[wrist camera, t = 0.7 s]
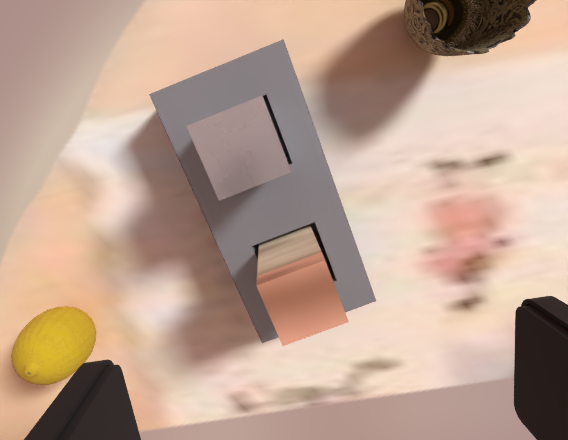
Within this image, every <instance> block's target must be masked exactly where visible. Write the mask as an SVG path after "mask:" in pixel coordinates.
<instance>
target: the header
mask: <svg viewBox="0 0 568 440" xmlns="http://www.w3.org/2000/svg"><path fill="white" fill-rule="evenodd" d="M149 95H150V97H151V99H152V101H153V104H154V106H155V108H156V110H157V113H158V115H159V117H160V119H161V121H162V124H163V126H164V128H165V130H166V132H167V135H168V137H169V139H170V141H171V143H172V146H173V148H174V150H175V152H176V154H177V157H178V159H179V161H180V163H181V165H182V168H183V170H184V172H185V174H186V176H187V179H188V181H189V183H190V185H191V187H192V190H193V192H194V194H195V196H196V198H197V201H198V203H199V205H200V207H201V210H202V212H203V214H204V216H205V218H206V221H207V223H208V225H209V227H210V229H211V232H212V234H213V236H214V238H215V240H216V243H217V245H218V247H219V249H220V251H221V254H222V256H223V258H224V260H225V262H226V265H227V267H228V269H229V271H230V273H231V276H232V278H233V280H234V282H235V284H236V287H237V289H238V291H239V293H240V295H241V298H242V300H243V302H244V304H245V307H246V309H247V311H248V313H249V315H250V318H251V320H252V322H253V324H254V326H255V329H256V331H257V333H258V335H259V337H260V340H261V342H262V343H264V342H266V341H269V340H272V339H275V338H277V337H279V336H278V334H277V332H276V329H275V327H274V325H273V323H272V320H271V318H270V316H269V313H268V311H267V309H266V307H265V304H264V302H263V300H262V298H261V295H260V293H259V291H258V288H257V286H256V284H257V267H258V250H259V243H262V242H264V241H267V240H269V239H272V238H275V237H277V236H280V235H282V234H285V233H288V232H290V231H293V230H295V229H298V228H301V227H303V226H306V225H308V224H310V226H311V228H312V231H313V233H314V235H315V238H316V240H317V242H318V245H319V247H320V249H321V252H322V254H323V256H324V259H325V261H326V264H327V266H328V269H329V272H330V274H331V277H332V279H333V282H334V285H335V287H336V290H337V293H338V295H339V298H340V300H341V303H342V306H343V308H344V311H345V312H348V311H350V310H353V309H356V308H358V307H361V306H364V305H366V304H369V303H372V302H375V301H376V299H375V296H374V293H373V291H372V288H371V285H370V282H369V279H368V276H367V274H366V271H365V268H364V265H363V262H362V260H361V257H360V254H359V251H358V248H357V245H356V243H355V240H354V237H353V234H352V231H351V229H350V226H349V223H348V220H347V217H346V214H345V212H344V209H343V206H342V203H341V200H340V198H339V195H338V192H337V189H336V186H335V183H334V181H333V178H332V175H331V172H330V169H329V167H328V164H327V161H326V158H325V155H324V153H323V150H322V147H321V144H320V141H319V138H318V136H317V133H316V130H315V127H314V124H313V122H312V119H311V116H310V113H309V110H308V107H307V105H306V102H305V99H304V96H303V93H302V91H301V88H300V85H299V82H298V79H297V76H296V74H295V71H294V68H293V65H292V62H291V60H290V57H289V54H288V51H287V48H286V45H285V43H284V40H281V41H278V42H276V43H274V44H271V45H269V46H266V47H264V48H261V49H259V50H257V51H254V52H252V53H249V54H247V55H244V56H242V57H239V58H237V59H235V60H232V61H230V62H227V63H225V64H222V65H220V66H217V67H215V68H213V69H210V70H208V71H205V72H203V73H200V74H198V75H195V76H193V77H191V78H188V79H186V80H183V81H181V82H178V83H176V84H173V85H171V86H169V87H166V88H164V89H161V90H159V91H156V92H154V93H151V94H149ZM260 96H263V98H264V101H265V104H266V106H267V109H268V112H269V114H270V117H271V119H272V122H273V125H274V127H275V130H276V132H277V135H278V138H279V140H280V143H281V146H282V148H283V151H284V153H285V156H286V159H287V161H288V164H289V167H290V169H291V173H289V174H286V175H284V176H281V177H278V178H276V179H273V180H271V181H268V182H266V183H263V184H261V185H258V186H255V187H253V188H250V189H248V190H245V191H243V192H240V193H238V194H235V195H232V196H230V197H227V198H225V199H222V200H220V201H219V200H218V197H217V195H216V193H215V190H214V188H213V186H212V184H211V181H210V179H209V177H208V174H207V172H206V170H205V168H204V165H203V163H202V161H201V159H200V156H199V154H198V152H197V149H196V147H195V145H194V143H193V140H192V138H191V136H190V133H189V131H188V129H187V127H186V126H188V125H190V124H193V123H195V122H197V121H200V120H202V119H205V118H207V117H210V116H212V115H215V114H217V113H220V112H222V111H225V110H227V109H230V108H232V107H235V106H237V105H240V104H242V103H245V102H247V101H250V100H252V99H255V98H257V97H260Z"/></svg>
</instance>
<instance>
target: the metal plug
mask: <svg viewBox="0 0 568 440" xmlns="http://www.w3.org/2000/svg"><path fill="white" fill-rule="evenodd" d="M186 127H187V129H188V131H189V133H190V136H191V138H192V140H193V143H194V145H195V147H196V149H197V152H198V154H199V156H200V159H201V161H202V163H203V165H204V168H205V170H206V172H207V174H208V177H209V179H210V181H211V184H212V186H213V188H214V190H215V193H216V195H217V197H218V200H219V201H220V200H222V199H225V198H227V197H230V196H232V195H235V194H238V193H240V192H243V191H245V190H248V189H250V188H253V187H255V186H258V185H261V184H263V183H266V182H268V181H271V180H273V179H276V178H278V177H281V176H284V175H286V174H289V173H291V169H290V167H289V164H288V161H287V159H286V156H285V153H284V151H283V148H282V146H281V143H280V140H279V138H278V135H277V132H276V130H275V127H274V125H273V122H272V119H271V117H270V114H269V112H268V109H267V106H266V104H265V101H264V98H263V96H260V97H257V98H255V99H252V100H250V101H247V102H245V103H242V104H240V105H237V106H235V107H232V108H230V109H227V110H225V111H222V112H220V113H217V114H215V115H212V116H210V117H207V118H205V119H202V120H200V121H197V122H195V123H193V124H190V125H188V126H186Z"/></svg>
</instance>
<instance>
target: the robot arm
mask: <svg viewBox="0 0 568 440" xmlns="http://www.w3.org/2000/svg"><path fill="white" fill-rule="evenodd" d="M514 406H515V410H516V413H517V415H518V417H519V419H520V420H521V422H522V423H523V424H524V425H525V426H526V427H527V429H528V430H529V431H530V432H531V433H532V434H533V436H534V437H535V438H536V439H537V440H568V305H567V304H565V303H564V302H562V301H560V300H559V299H557V298H555V297H553V296H546V297H539V298H532V299H526V300H524V301H523V303H522V304H521V307H518V308H517V310H516V316H515V371H514ZM24 440H141V438H140V435H139V431H138V427H137V424H136V420H135V416H134V413H133V409H132V405H131V402H130V398H129V394H128V391H127V387H126V383H125V380H124V376H123V373H122V369H121V367H120V366H119V365H114V364H113V362H112V361H111V360H102V361H95V362H88V363H83V364H82V365H81V366H80V367H79V368H78V370H77V371H76V372H75V373H74V375H73V376H72V377H71V379H70V380H69V381H68V383H67V384H66V385H65V387H64V388H63V389H62V391H61V392H60V393H59V394H58V396H57V397H56V398H55V400H54V401H53V402H52V404H51V405H50V406H49V408H48V409H47V410H46V412H45V413H44V414H43V416H42V417H41V418H40V419H39V421H38V422H37V423H36V425H35V426H34V427H33V429H32V430H31V431H30V433H29V434H28V435H27V437H26V438H25V439H24Z"/></svg>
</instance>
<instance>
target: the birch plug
mask: <svg viewBox="0 0 568 440" xmlns="http://www.w3.org/2000/svg"><path fill="white" fill-rule="evenodd" d="M256 286H257V288H258V291H259V293H260V295H261V298H262V300H263V302H264V304H265V307H266V309H267V311H268V313H269V316H270V318H271V320H272V323H273V325H274V327H275V329H276V332H277V334H278V336H279V339H280V341H281V343H282V345H283V346H284V345H287V344H290V343H293V342H295V341H298V340H301V339H303V338H306V337H309V336H312V335H314V334H317V333H320V332H322V331H325V330H328V329H330V328H333V327H336V326H339V325H341V324H344V323H347V322H349V321H348V319H347V316H346V314H345V311H344V308H343V306H342V303H341V300H340V298H339V295H338V293H337V290H336V287H335V285H334V282H333V279H332V277H331V274H330V272H329V269H328V266H327V264H326V261H325V259H324V256H323V254H322V252H321V249H320V247H319V245H318V242H317V240H316V238H315V235H314V233H313V231H312V228H311V226H310V224H308V225H306V226H303V227H301V228H298V229H295V230H293V231H290V232H288V233H285V234H282V235H280V236H277V237H275V238H272V239H269V240H267V241H264V242H262V243H259V250H258V267H257V284H256Z"/></svg>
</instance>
